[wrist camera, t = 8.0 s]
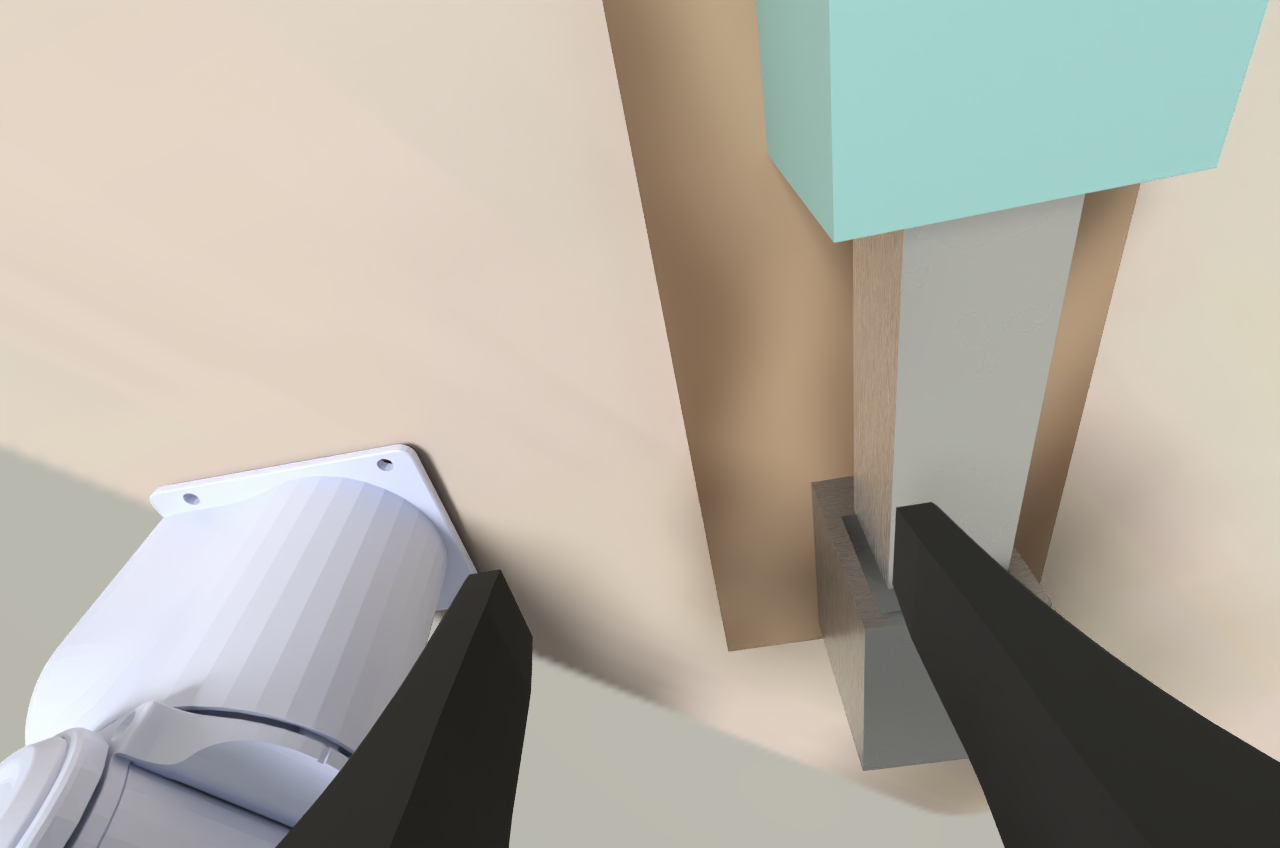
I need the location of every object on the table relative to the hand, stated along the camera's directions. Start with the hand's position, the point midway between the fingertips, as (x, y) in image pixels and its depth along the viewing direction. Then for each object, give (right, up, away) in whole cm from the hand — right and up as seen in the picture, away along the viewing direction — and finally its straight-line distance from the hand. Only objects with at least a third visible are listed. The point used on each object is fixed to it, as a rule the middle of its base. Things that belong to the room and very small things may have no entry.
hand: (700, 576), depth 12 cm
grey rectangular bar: (+5, +6, +3) cm, 9 cm away
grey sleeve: (+7, -2, +11) cm, 14 cm away
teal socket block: (+4, +11, +2) cm, 12 cm away
